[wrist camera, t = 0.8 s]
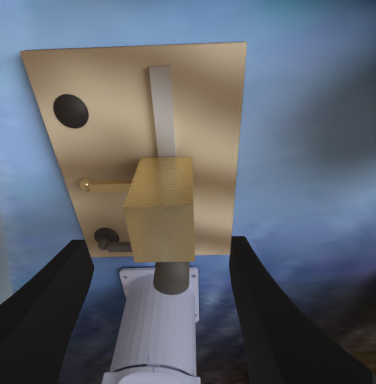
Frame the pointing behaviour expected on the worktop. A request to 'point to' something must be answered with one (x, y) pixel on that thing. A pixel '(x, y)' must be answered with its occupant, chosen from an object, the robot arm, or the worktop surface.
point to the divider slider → (156, 208)
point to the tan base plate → (144, 133)
